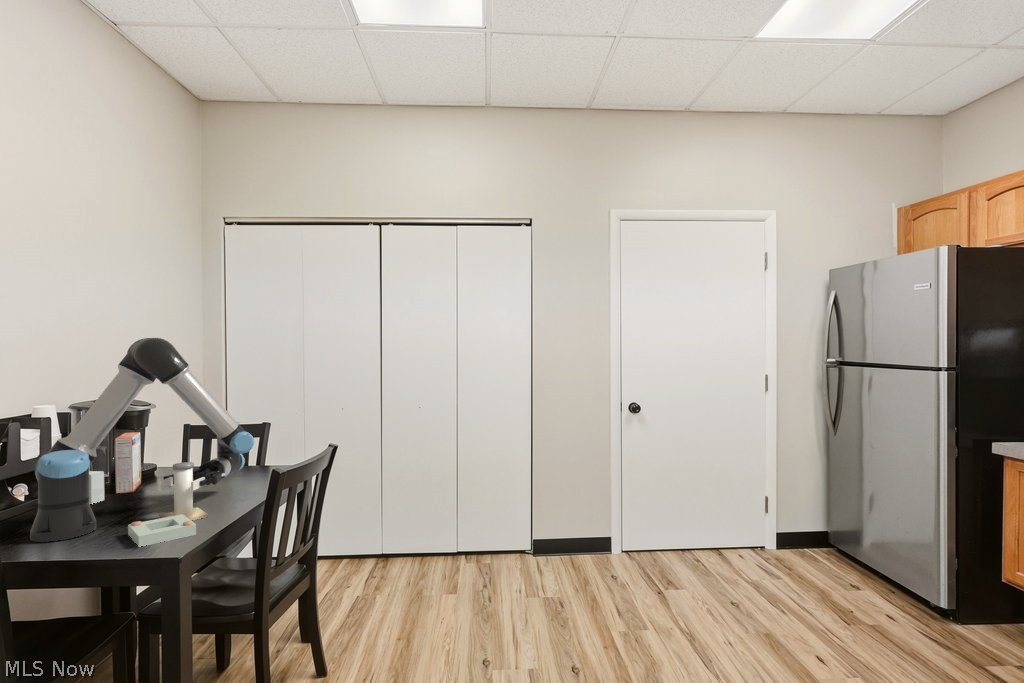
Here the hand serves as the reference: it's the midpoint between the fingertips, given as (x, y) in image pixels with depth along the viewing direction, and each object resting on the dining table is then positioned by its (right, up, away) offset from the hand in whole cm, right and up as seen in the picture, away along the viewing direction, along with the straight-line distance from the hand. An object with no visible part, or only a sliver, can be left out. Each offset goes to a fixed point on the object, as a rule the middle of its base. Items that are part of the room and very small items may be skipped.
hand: (175, 486), depth 172 cm
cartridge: (0, -10, +4) cm, 11 cm away
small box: (-44, -12, +22) cm, 51 cm away
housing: (+4, -11, -12) cm, 17 cm away
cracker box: (-43, -12, +41) cm, 60 cm away
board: (0, -11, +4) cm, 12 cm away
